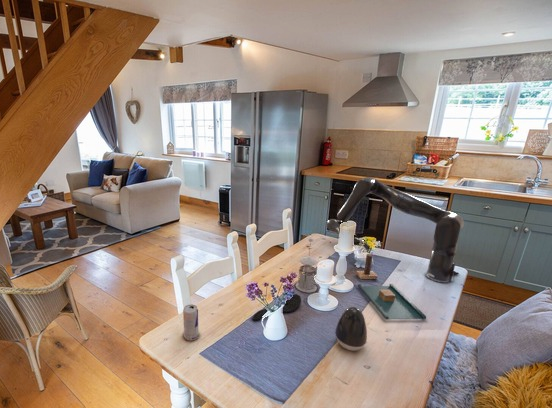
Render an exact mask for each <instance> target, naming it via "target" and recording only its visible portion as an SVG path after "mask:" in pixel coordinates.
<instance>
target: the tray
mask: <svg viewBox="0 0 552 408" xmlns="http://www.w3.org/2000/svg"><path fill="white" fill-rule="evenodd" d="M357 287H358V288H359V290H360V291H361V292H362V293H363V294H364V295H365V296H366V298H367V299H368V300H369V301H370V303H371V304H372V305H373V306H374V308H375V309H376V310H377V311H378V313H380V314H381V316H382V317H383V318H384V320H426V319H427V316H426V315H425V314H424V312H422V310H420V309H419V307H417V306H416V305H415V304H414V303H413V302H412V301H411V300H410V299H409V298H408V297H407V296H405V294H403V292H401V291H400V289H398V288H397V287H396V286H395V285H394V284H393V283H389V285H371V286H370V285H366V286H365V285H362V284H361V283H358V284H357ZM379 290H390V291H391V292H392V293H393V294H394V295H395V300H394V301H383V300H382V299H381V298H380V296H379Z"/></svg>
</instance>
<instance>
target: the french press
mask: <svg viewBox="0 0 552 408" xmlns="http://www.w3.org/2000/svg"><path fill="white" fill-rule="evenodd" d="M313 241H314V240H313V238H310V237H309V238H308V242H309V246H311V244H312V243H313ZM308 250H309V251H308V252H309V253H308V256H302V257H300V258H299V263H300V264H302V265H300V266H299V269H298V280H297V283H295V287H296V289H297V290H299V291H300V292H303V293H309V294H310V293H314V292H316V291H317V289H318V286H317V285H316V281H315V280H314V278H315V277H316V276H317V269H316V268H315V266H316V265H317V264H318V263H319V261H318V260H317V259H316V258H315V257H312V256H310V255H311V249H308ZM315 275H316V276H315ZM314 276H315V277H314Z"/></svg>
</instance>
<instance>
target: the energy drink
mask: <svg viewBox="0 0 552 408" xmlns="http://www.w3.org/2000/svg"><path fill="white" fill-rule="evenodd" d="M182 313H183V314H182V315H183V319H182V320H183V337H184V339H185V340H187V341H190V342H191V341H195V340H197V338H199V308H198V307H197V305H195V304H186V305H185V306H184V307H183V311H182Z"/></svg>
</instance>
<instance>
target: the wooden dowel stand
mask: <svg viewBox="0 0 552 408" xmlns="http://www.w3.org/2000/svg"><path fill="white" fill-rule="evenodd" d="M373 258H374V255H373V254H371V253H367V254H366V255H365V262H364V268H363V270H356V272H355V274H356V276H357V277H358V278H359V279H360V280H364V281H365V280H377V279H378V275H377V273H376V272H374V271H373V270H372V264H373Z"/></svg>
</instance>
